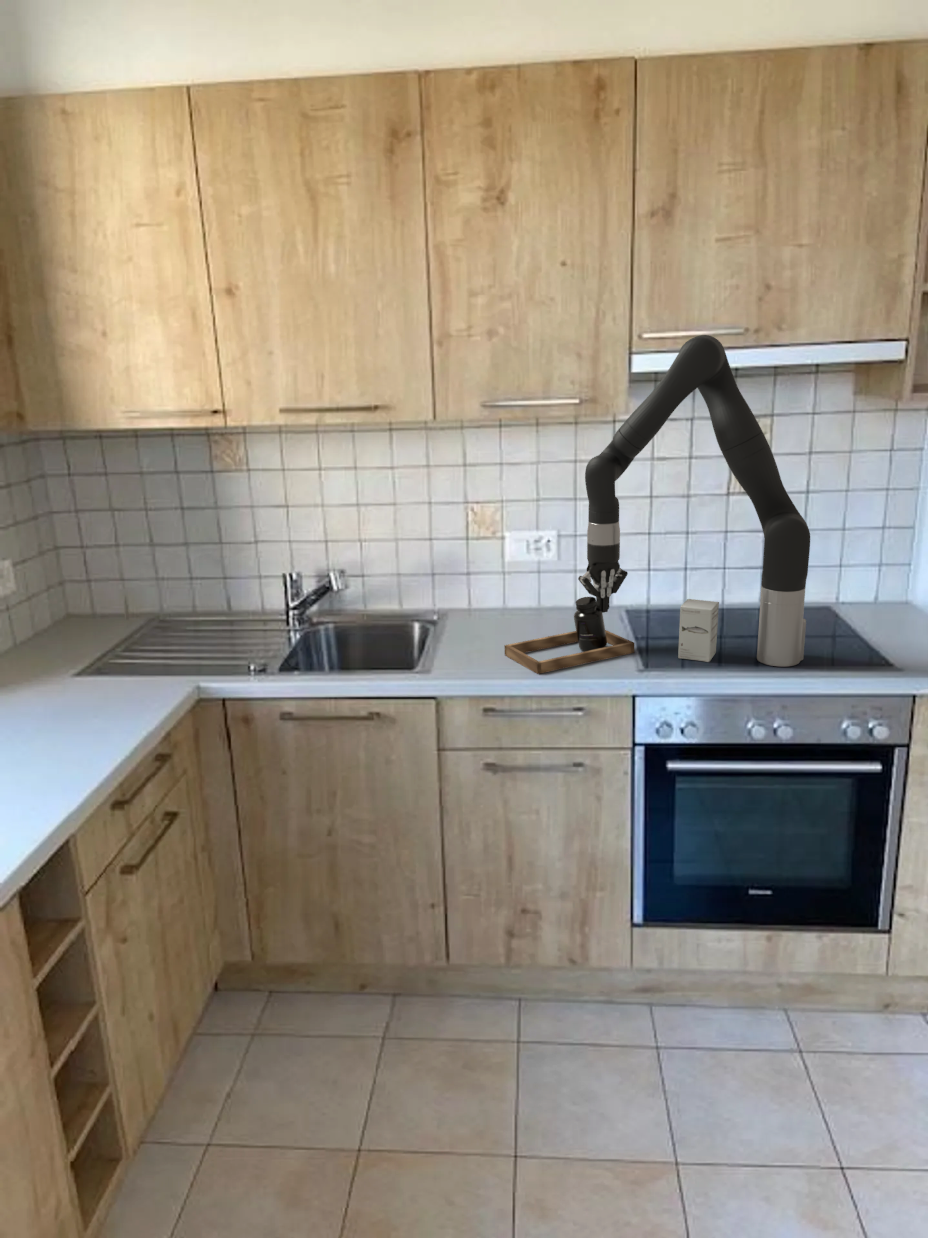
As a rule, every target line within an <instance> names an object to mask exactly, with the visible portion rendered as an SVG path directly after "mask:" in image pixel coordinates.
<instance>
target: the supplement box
mask: <svg viewBox="0 0 928 1238" xmlns="http://www.w3.org/2000/svg"><path fill="white" fill-rule="evenodd" d="M719 607H720V602H719V601H714V600H713V601H711V600H703V599H692V598H688V599H686V600H685V601H684V602H683V603H682V604H681V606H680V610H679V630H678V631H679V633H678V654H677V655H678V656H677V657H678V659H683V660H692V661H699V662H706V663H710V662H711V660H712V658H713V657H714V656H715V654H716V652H717V641H718V640H717V639H718V638H717V637H718V623H719V609H720V608H719Z"/></svg>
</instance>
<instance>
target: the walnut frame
mask: <svg viewBox="0 0 928 1238" xmlns="http://www.w3.org/2000/svg"><path fill="white" fill-rule="evenodd" d="M605 632H606V638H607V644H609V645H610V646H605V647H604V648H599V649H595V650H590V651H581V652H577V653H572V654H567V655H562V656H558V657H553V658H548V659H543V660H537V659H535V658H533V657H532V656H530V655H528V654H526V653H530V652H534V651H540V650H545V649H550V648H555V647H559V646H563V645H569V644H573V643H578V639H577V633H576V630H574V631H569V632H563V633H560V634H559V633H558V634H553V635H550V636H549V635H548V636H543V637H540V638H535V639H530V640H524V641H520V642H513V643H510V644H504V656H505V657H507V658H509V659H511V661H514V662H515V663H517V664H520V665H521V666H523V667H524V668H526V669H528V670H529V671H532V672H533V673H534V674H537V675H538V674H539V675H540V674H543V673H544V674H545V673H548V672H553V671H558V670H563V669H567V668H572V667H575V666H581V665H584V664H589V663H594V662H598V661H603V660H608V659H613V658H618V657H622V656H626V655H632V654H635V641H634V642H633V641H632V640H629V639H627V638H625V637H623V636H620V635H619V634H616V633H614V632H611V631H608V630H607V629H605Z"/></svg>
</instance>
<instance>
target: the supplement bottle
mask: <svg viewBox="0 0 928 1238" xmlns="http://www.w3.org/2000/svg"><path fill="white" fill-rule="evenodd" d="M575 609H576V611H575V612H574V613H573V620H574V622H573V623H574V627H575V631H576V633H577V639H578V642H577V643H578V644H577V645H578V648H579V649H580V650H581V651H582V652H585V651H590V650H595V649H599V648H604V647H607V644H608V643H607V638H606V632H605V630H606V628H605V626H606V625H605V619H604V613H602V611H601V610H600V609H599V608H597V603H596V597H595V596H584V597H583V596H582V597H580V598H578V599H576V601H575Z"/></svg>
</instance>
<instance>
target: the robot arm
mask: <svg viewBox="0 0 928 1238" xmlns="http://www.w3.org/2000/svg"><path fill="white" fill-rule="evenodd" d="M696 389H698V392H699V393H700V394H701V396H702V398H703V400H704V402H705V405H706V407H707V409H708V412H709V416H710V420H711V424H712V428H713V431H714V435H715V439H716V442H717V444H718V447H719V449H720V451H721V454H722V455H723V458H724V460H725V463H726V464H727V466H728V468H729V469H730V471H731V473H732V474H733V477H734V478H735V479H736V481H737V482H738V484H739V485H740V487H741V488H742V489H743V491H744V492H745V493H746V495H747V496H748V498H749V499H750V500H751V503H752V505H753V507H754V509H755V512H756V515H757V518H758V520H759V523H760V526H761V529H762V532H763V536H764V539H763V540H764V541H763V542H764V543H763V557H762V558H763V559H762V560H763V561H762V572H761V584H760V585H761V586H760V599H759V602H760V603H759V615H758V618H759V619H758V620H759V621H758V633H757V635H758V636H757V650H756V651H757V652H756V659H757V661H758V662H760V663H761V664H764V665H767V666H770V667H771V666H772V667H773V666H774V667H782V668H783V667H793V666H796V665H798V664H799V663H800V662H801V661H803V660H804V655H805V654H804V653H805V642H806V628H807V619H805V618H804V612H805V598H806V597H805V596H806V585H807V577H808V573H809V562H810V561H809V560H810V551H811V533H810V532H811V531H810V529H809V526H808V523H807V522H806V520H805V518H804V517H803V516H802V514H801V512H799V510H798V509H797V507H796V506H795V504H794V502H793V500H792V498H791V497H790V496H789V494H788V492H787V491H786V488H785V487H784V483H783V481H782V478H781V475H780V472H779V468H778V465H777V462H776V459H775V456H774V454H773V451H772V449H771V446H770V445H769V442H768V439H767V438H766V436H765V433H764V431H763V429H762V427H761V425H760V424H759V421H758V420H757V418H756V416H755V414H754V413H753V410H752V409H751V408H750V406H749V404H748V403H747V401H746V399H745V398H744V396H743V394H742V392H741V391H740V389H739V387H738V385H737V382H736V379H735V377H734V374H733V372H732V369H731V366H730V363H729V360H728V357H727V354H726V351H725V347H724V345H723V344H722V343H721V341H720V340H719V339H718V338H716V337H715V336H712V335H707V334H701V335H697V336H695V337H694V336H693V337H692V338H690V339H688V340H687V341H686V342H685V343H683V344H682V346H681V347H680V348H679V351H678V354H677V355H676V357H675V359H674V360H673V362H672V363H671V365H670V367H669V369H668V370H667V371H666V373H665V375H664V376H663V377H662V378H661V380H660V381H659V382H658V384H657V385H656V387H655V388H654V389H653V390H652V392H651V393H649V395H647V397H646V398H645V399H644V400H643V401H642V402H641V404H640V405H639V406H637V408H636V409H635V410H634V411H633V412H632V413H631V414H630V416H629V417H627V419H626V420H625V421H624V422H623V424H622V425H620V427H619V428H618V429H617V431H616V432H615V433H614V435H613V437H612V440H611V441H610V442H609V443H608V445H607V446H606V447H605V448H604V450H603V451H601V453H599V454H598V455H596V456H594V457H592V458H591V459H590V460H589V461H588V462H587V464H586V466H585V472H584V473H585V474H584V480H585V482H584V483H585V489H586V494H587V499H588V516H587V517H588V519H587V520H588V522H587V531H586V533H587V535H586V539H587V541H586V545H587V546H586V547H587V548H586V553H587V554H586V556H587V557H586V558H587V563H588V564H587V567H586V572H585V573H584V574H583V575H579V576H578V581H579V583H580V584H581V586H582V587H583V588H584V589H585V590H586V591H587V593H588V594H589V595H591V596H592V597H595V599H596V603H597V608H599V609H600V610H601V611H602V614H604V613H608V610H609V609H610V597H611V595H612V594H617V593H618V590H619V589H620V588H621V586H622V584H623V583H624V581H625V580H626V578H627V576H628V574H629V573H628V571H626V570H624V569H623V568H621V567H620V566H621V565H620V563H619V560H620V558H621V557H620V556H621V554H620V552H621V551H620V549H621V528H620V502H619V498H618V497H616V481H617V480H619V479H620V478H621V476H622V475H623V474H624V473H625V471H626V470H627V469H628V468H629V466H630V465H631V463H632V462H633V461H634V459H635V458H636V457H637V456H638V454H640V453H641V452H642V451H643V450H644V448H645V447H646V446H647V445H648V444H649V443H650V442H651V440H653V438H654V437H655V436H656V435H657V434H658V433H659V431H660V430H661V429H662V428H663V426H664V425H665V423H666V421H668V419H669V418H670V417H671V416H672V414H673V413H674V412H675V410H676V409H677V408H678V407H679V406H680V404H682V403H683V401H684V400H685V399H687V397H688V396H689V395H690V394H692V393H693V392H694V391H695V390H696ZM592 581H593V582H592Z"/></svg>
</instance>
